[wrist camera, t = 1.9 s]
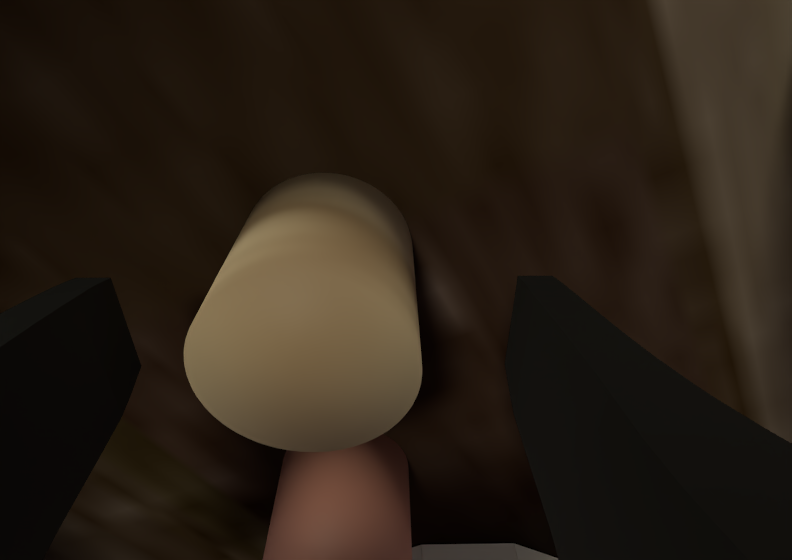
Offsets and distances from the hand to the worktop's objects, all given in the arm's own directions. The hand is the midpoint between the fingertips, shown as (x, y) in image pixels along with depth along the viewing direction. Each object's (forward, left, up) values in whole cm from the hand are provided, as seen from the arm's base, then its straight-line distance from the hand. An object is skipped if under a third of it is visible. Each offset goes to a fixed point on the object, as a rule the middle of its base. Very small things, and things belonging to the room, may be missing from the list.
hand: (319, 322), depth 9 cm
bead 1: (0, 0, -3) cm, 3 cm away
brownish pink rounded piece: (0, -8, -3) cm, 8 cm away
